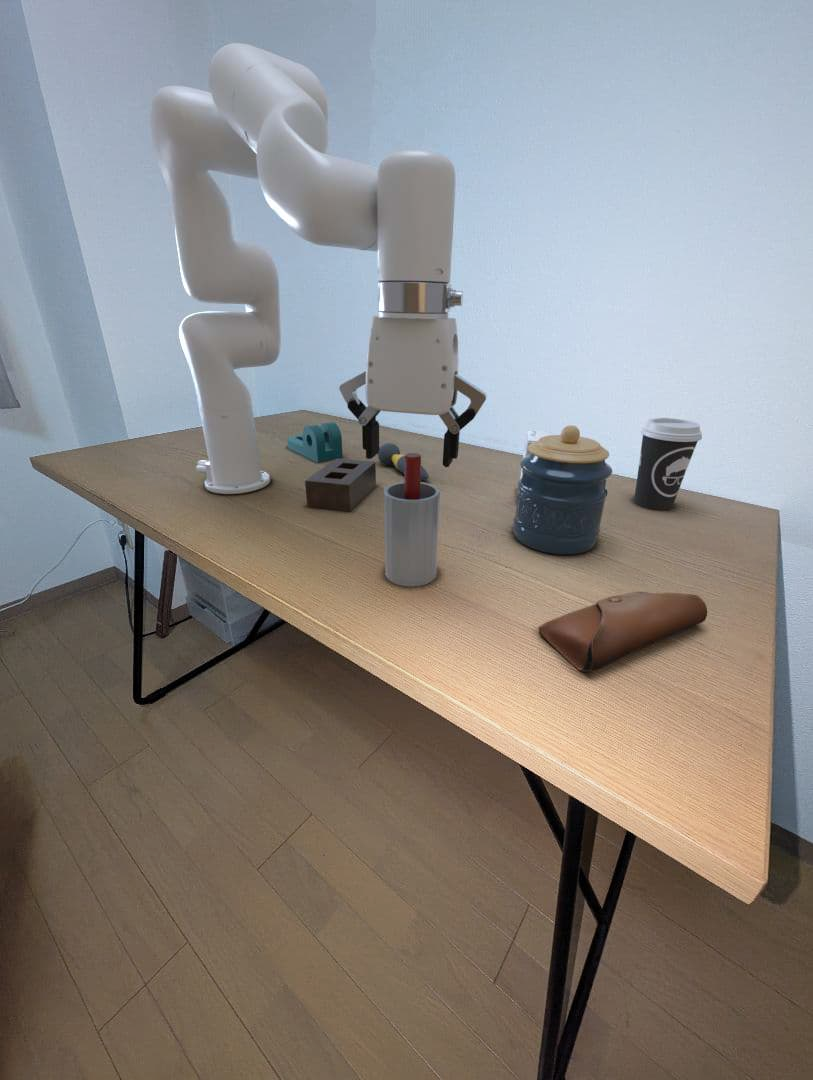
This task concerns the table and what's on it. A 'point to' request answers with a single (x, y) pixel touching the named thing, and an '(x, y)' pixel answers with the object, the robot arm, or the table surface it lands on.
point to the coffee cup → (664, 460)
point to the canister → (562, 493)
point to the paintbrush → (396, 458)
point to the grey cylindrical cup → (411, 535)
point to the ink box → (533, 437)
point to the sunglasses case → (621, 626)
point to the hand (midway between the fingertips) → (409, 459)
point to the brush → (412, 476)
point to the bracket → (318, 442)
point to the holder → (341, 484)
